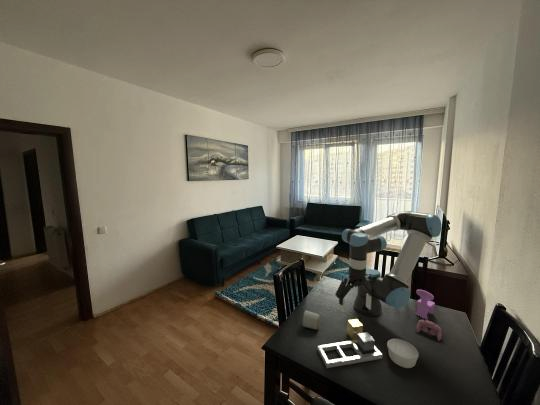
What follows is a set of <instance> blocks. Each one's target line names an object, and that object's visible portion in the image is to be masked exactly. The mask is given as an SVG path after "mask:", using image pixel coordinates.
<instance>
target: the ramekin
mask: <svg viewBox="0 0 540 405" xmlns="http://www.w3.org/2000/svg"><path fill="white" fill-rule="evenodd" d="M386 347H387V351H388V355H389V358H390V359H391V361H392V362H394V364H396V365H398V366H399V367H402V368H405V369H411V368H413V367H415V366H416V364H417V360H418V359H419V357H420V356H419V351H418V350H417V348H416V347H415V346H414V345H413V344H411V343H410V342H408V341H406V340H403V339H400V338H391V339H389V340H388V341H387V343H386Z"/></svg>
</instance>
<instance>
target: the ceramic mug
mask: <svg viewBox="0 0 540 405" xmlns="http://www.w3.org/2000/svg"><path fill="white" fill-rule="evenodd" d="M302 316H303V317H302V327H304V328H308V329H312V330H319V329H320V325H321V324H320V323H321V315H320V314H318V313H316V312H313V311H309V310H307V309H306V310H305V309H304V313H303V315H302Z"/></svg>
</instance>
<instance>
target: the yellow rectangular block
mask: <svg viewBox="0 0 540 405" xmlns="http://www.w3.org/2000/svg"><path fill="white" fill-rule="evenodd" d="M346 326H347V327H346V328H347V329H346V331H347V332H346V333H347V335H348V336H349V338H350V339H351V341H352V340H357V334H359V333H364V331H363V330H364V325H363V323H362V322H361V321H359V319H358V318H354V319H348V320H347V325H346Z"/></svg>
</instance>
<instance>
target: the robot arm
mask: <svg viewBox="0 0 540 405" xmlns="http://www.w3.org/2000/svg"><path fill="white" fill-rule="evenodd" d="M442 227H443V226H442V221H441V219H440V217H439V216H438V215H437V214H433V213H428V212H427V213H423V212H417V211H410V210H406V211H399V212H395V213H393V214H389V215H387V216H386V218H383V219H381V220H377V221H374V222H372V223H369V224H366V225H363V226H360V227H358V228H355V229H351V228H345V229H344V230H343V231H342V233H341V240H342V241H344V242H345V243H347V244H349V257H348V258H349V260H348V276H347V277H346V276H342V278H341V282H340V284H339V285H338V288H337V290H336V293H335V297H337V299H338V304H339V310H340V311H341V312H342V313H343V314H344V313H345V309H346V307H345V306H346V299H345V297H346V296H347V295H348V293H349V292H350V291H351V290H352V289H354V288H356V287H357V293H356V297H355V299H354V301H353V307H354V309H355V310H356V311H357V312H358V313H360V314H362V315H364V316H367V317H377V316H378V317H379V316H380V315H382V313H383V306H382V303H384V304H386V305H388V306H389V307H392V308H393V309H395V310H396V309H397V310H398V309H402V308H405V307H406V305H407V304H408V303H409V301H410V299H411V291H410V289H409V288H410V284H409V283H408V281H409V279H410V277H411V276H412V275H411V274H413V270H414V269H415V267H416V264H417V262H418V261H419V258H420V256H421V254H422V252H423V250H424V247H425V245H426V243H427V242H431V241H432V239H433V238H435V237H436V238H437V237H439V236H440V235H441V232H442ZM399 230H400V231H401V230H402V231H406V233H407V236H406V239H405V240H404V241H405V242H404V243H403V245H402V247H401V250H400V251H399V253H398V256H397V257H396V260H395V262H394V264H393V265H392V268H391V270H390V272H389V273H386V274H385V275H384V277H383V276H381V272H380V270H377V269H373V268H367V260H368V259H367V258H368V254H370V253H377V252H381V251H384V250H385V249H386V248H387V245H388V244H387V243H388V241H387V240H386V238H385V237H384V236H383V234H386V233H389V232H391V231H399ZM381 302H382V303H381Z"/></svg>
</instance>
